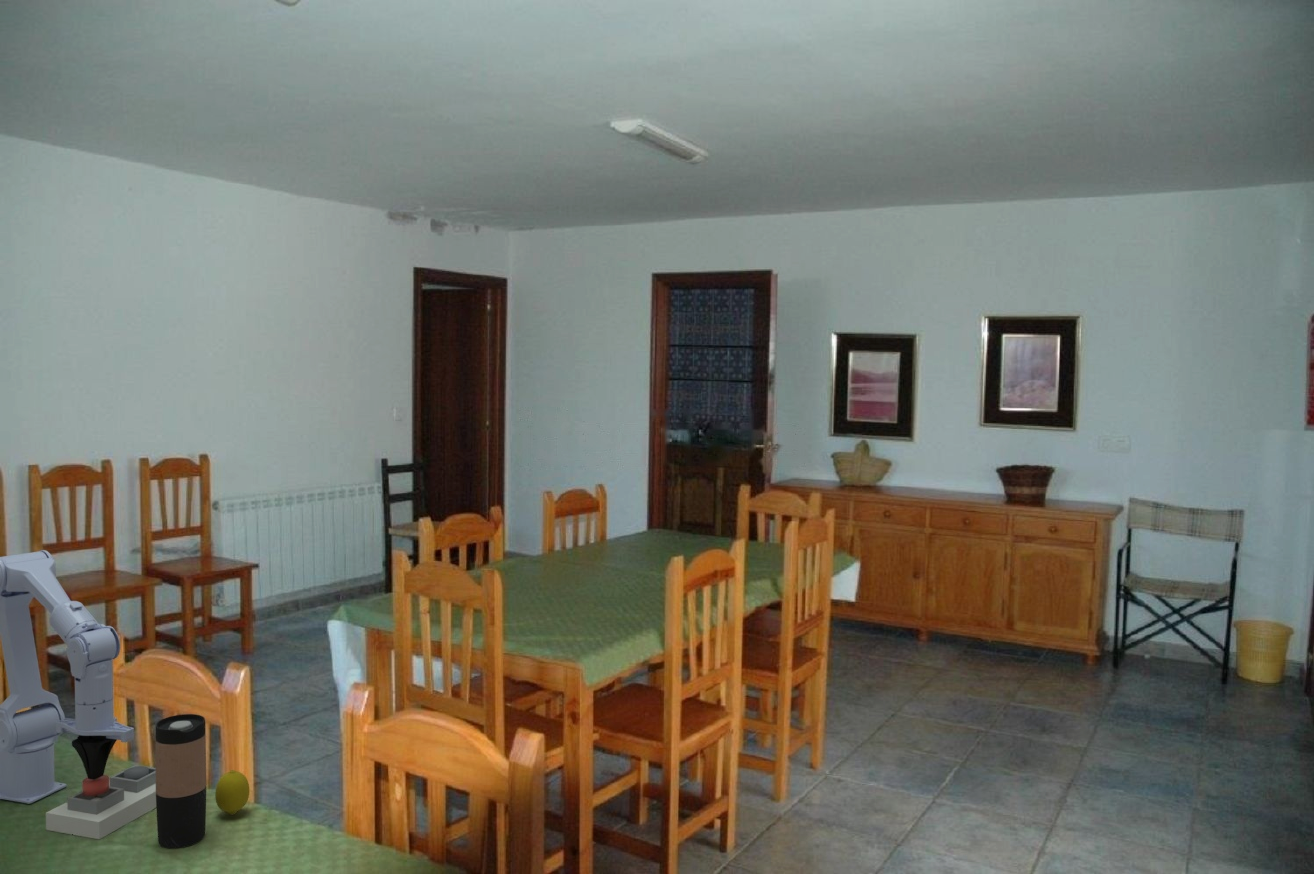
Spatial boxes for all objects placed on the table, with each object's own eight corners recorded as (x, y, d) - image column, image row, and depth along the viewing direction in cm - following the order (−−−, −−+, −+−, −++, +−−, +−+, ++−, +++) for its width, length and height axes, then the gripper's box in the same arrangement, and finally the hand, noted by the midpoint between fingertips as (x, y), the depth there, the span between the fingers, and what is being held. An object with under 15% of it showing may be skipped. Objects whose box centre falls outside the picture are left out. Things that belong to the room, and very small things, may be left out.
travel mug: (171, 826, 170) (169, 712, 168) (215, 828, 170) (214, 714, 168) (146, 848, 162) (145, 729, 161) (193, 850, 162) (191, 730, 161)
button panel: (46, 829, 168) (45, 801, 167) (132, 784, 186) (132, 758, 186) (99, 839, 165) (98, 810, 165) (182, 792, 183) (181, 766, 183)
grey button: (118, 784, 178) (118, 773, 178) (135, 775, 182) (135, 764, 182) (137, 787, 177) (136, 776, 177) (153, 778, 181) (153, 767, 181)
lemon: (254, 807, 178) (254, 764, 177) (242, 821, 172) (242, 776, 172) (222, 807, 178) (222, 763, 177) (210, 821, 172) (209, 776, 172)
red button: (76, 793, 169) (76, 782, 169) (95, 784, 173) (95, 773, 173) (96, 796, 168) (95, 785, 168) (114, 787, 172) (114, 776, 172)
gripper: (147, 696, 172) (148, 773, 173) (79, 687, 175) (80, 762, 176) (115, 710, 165) (116, 789, 166) (45, 700, 169) (46, 778, 170)
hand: (95, 776), depth 171 cm, fingers closed
